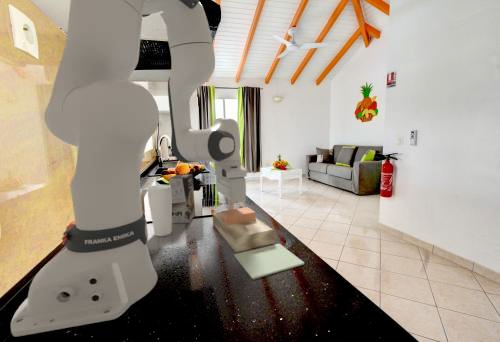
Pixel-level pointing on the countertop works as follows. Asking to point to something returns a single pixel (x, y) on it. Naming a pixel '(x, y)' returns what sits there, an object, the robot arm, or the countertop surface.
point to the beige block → (244, 233)
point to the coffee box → (182, 198)
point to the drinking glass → (161, 208)
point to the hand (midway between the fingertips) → (230, 209)
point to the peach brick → (238, 215)
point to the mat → (267, 260)
